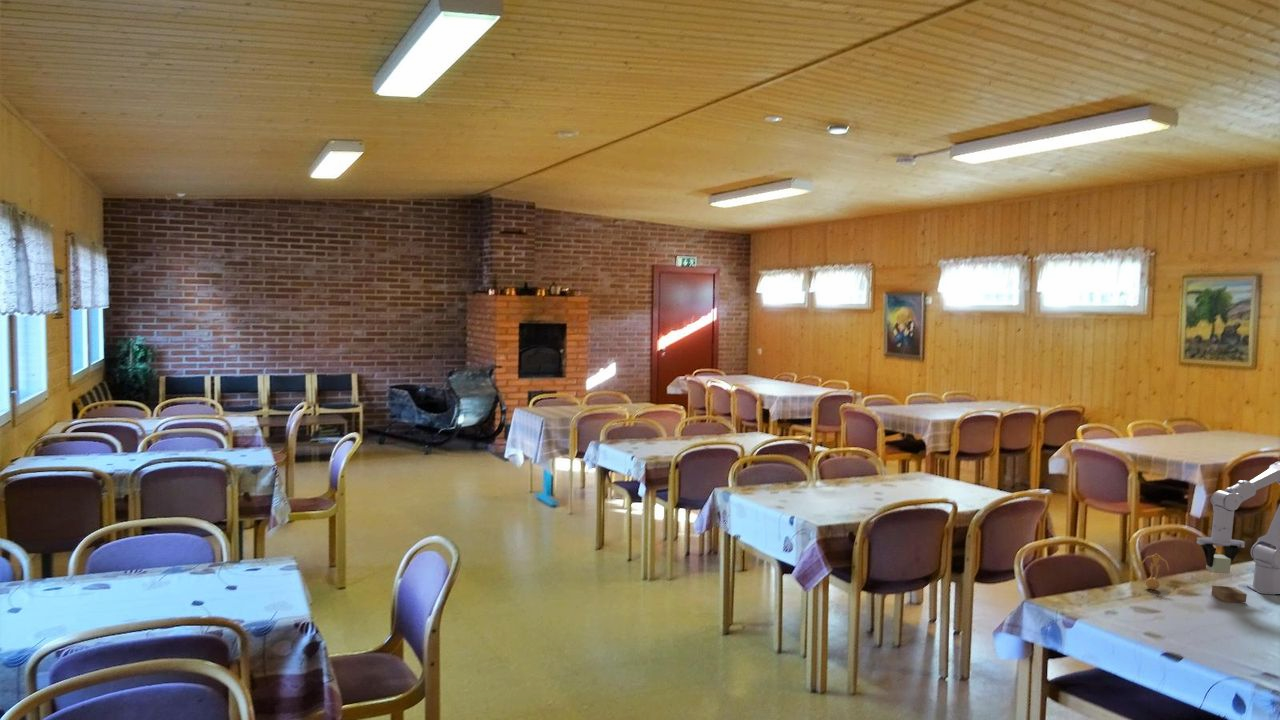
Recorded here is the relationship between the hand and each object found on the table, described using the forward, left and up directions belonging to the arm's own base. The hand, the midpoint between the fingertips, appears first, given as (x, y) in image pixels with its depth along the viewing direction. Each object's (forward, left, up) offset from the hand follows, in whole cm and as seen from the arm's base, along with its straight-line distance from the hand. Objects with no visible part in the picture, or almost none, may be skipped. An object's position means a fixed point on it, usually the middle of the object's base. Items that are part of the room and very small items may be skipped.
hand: (1218, 566), depth 307 cm
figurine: (+21, +2, -9) cm, 23 cm away
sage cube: (0, 0, -2) cm, 2 cm away
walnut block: (0, +7, -8) cm, 11 cm away
